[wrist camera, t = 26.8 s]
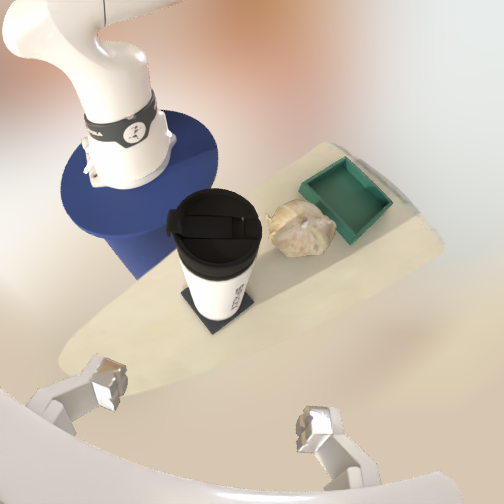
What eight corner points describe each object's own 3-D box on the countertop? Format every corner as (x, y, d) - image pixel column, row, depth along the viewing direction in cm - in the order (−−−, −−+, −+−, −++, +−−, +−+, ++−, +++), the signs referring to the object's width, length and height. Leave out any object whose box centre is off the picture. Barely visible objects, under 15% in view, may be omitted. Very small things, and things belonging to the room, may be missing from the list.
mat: (181, 293, 36) (180, 292, 35) (221, 264, 38) (221, 263, 38) (212, 334, 34) (212, 334, 34) (253, 303, 37) (254, 302, 36)
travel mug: (191, 275, 37) (170, 182, 18) (240, 275, 37) (262, 183, 19) (191, 321, 34) (161, 265, 16) (242, 320, 35) (269, 264, 17)
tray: (298, 191, 45) (302, 182, 43) (341, 164, 50) (345, 156, 47) (350, 245, 42) (356, 238, 40) (387, 209, 47) (393, 202, 44)
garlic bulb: (315, 250, 44) (359, 229, 35) (284, 282, 39) (331, 266, 31) (280, 203, 43) (319, 173, 35) (244, 230, 39) (282, 200, 30)
